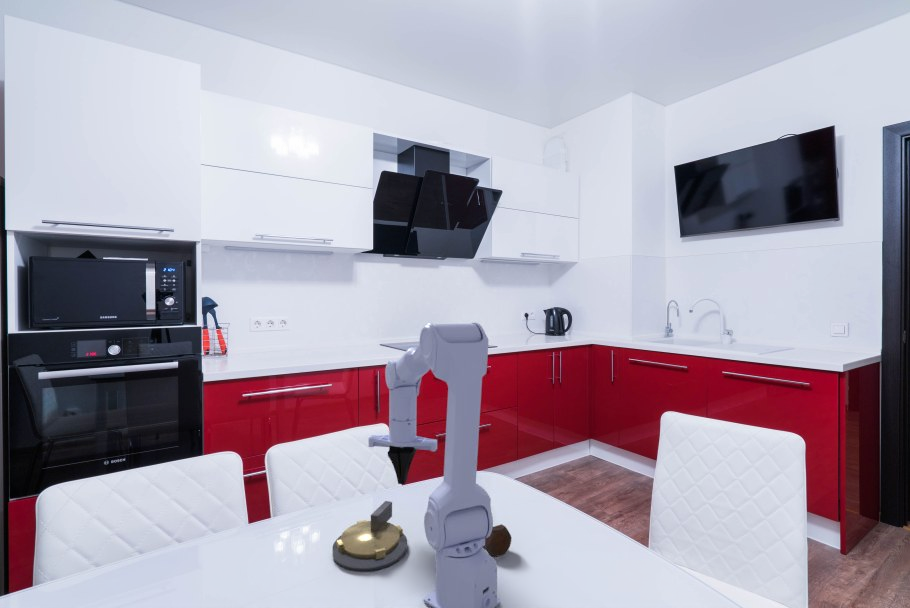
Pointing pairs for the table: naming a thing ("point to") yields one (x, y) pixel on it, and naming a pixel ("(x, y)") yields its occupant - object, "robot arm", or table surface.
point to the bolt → (498, 541)
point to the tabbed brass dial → (371, 535)
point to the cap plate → (370, 563)
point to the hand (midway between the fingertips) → (402, 482)
